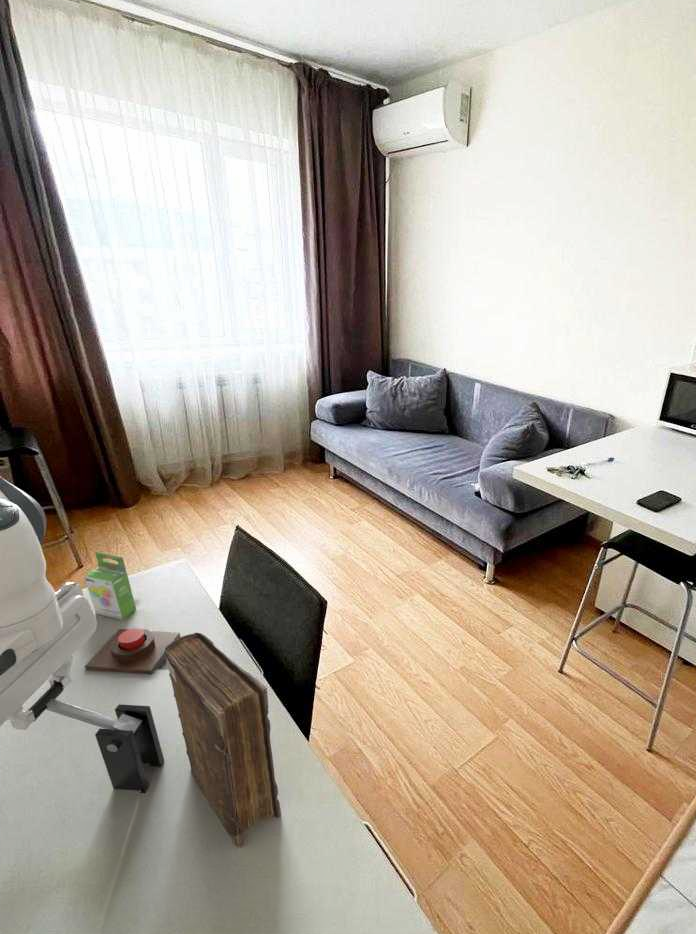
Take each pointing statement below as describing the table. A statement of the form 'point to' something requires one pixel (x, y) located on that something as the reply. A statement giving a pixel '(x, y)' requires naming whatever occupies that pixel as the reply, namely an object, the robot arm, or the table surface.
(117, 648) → the button block
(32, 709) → the lever
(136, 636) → the button
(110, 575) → the ink box
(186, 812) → the table surface
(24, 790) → the table surface
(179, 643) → the book
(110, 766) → the bracket
